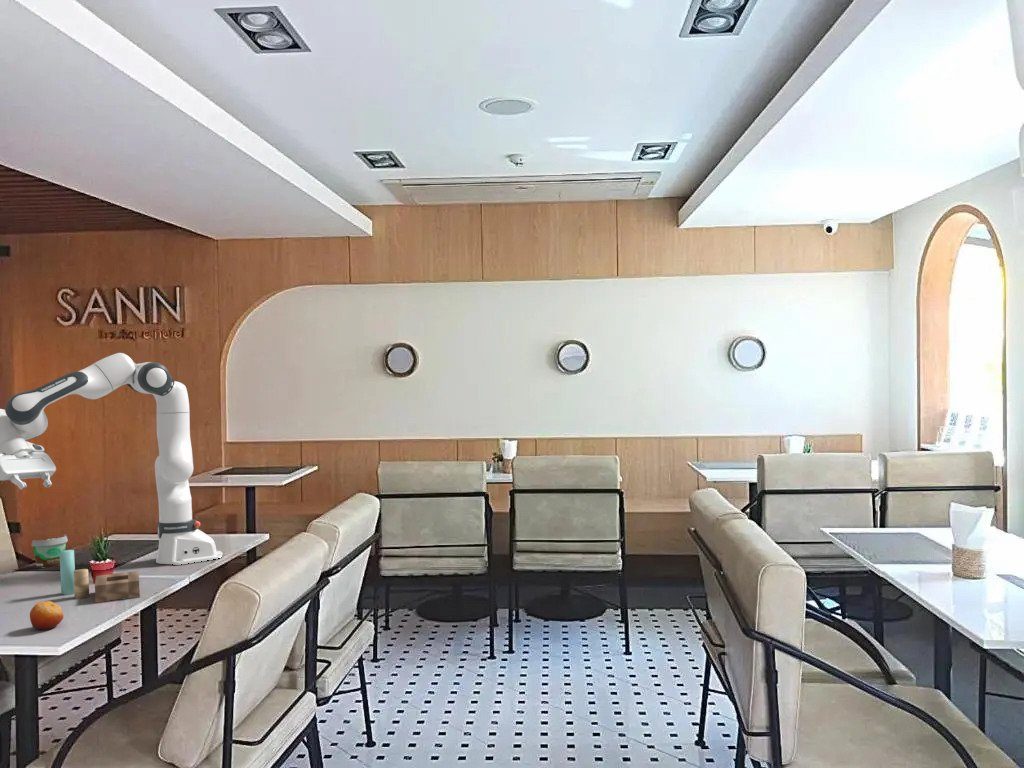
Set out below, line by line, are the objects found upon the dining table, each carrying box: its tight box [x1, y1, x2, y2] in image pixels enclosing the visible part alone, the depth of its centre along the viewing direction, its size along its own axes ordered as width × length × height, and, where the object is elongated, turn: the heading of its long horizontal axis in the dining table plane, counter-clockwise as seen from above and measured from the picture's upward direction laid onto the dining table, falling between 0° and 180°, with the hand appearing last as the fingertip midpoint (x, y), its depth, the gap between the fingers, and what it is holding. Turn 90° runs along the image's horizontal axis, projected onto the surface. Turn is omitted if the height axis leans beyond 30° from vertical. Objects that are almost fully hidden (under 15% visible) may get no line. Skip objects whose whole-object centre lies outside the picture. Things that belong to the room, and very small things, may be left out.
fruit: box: [29, 600, 64, 630], centre depth 234 cm, size 8×8×8 cm
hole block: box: [94, 570, 141, 604], centre depth 267 cm, size 12×14×5 cm
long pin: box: [59, 549, 76, 596], centre depth 271 cm, size 4×4×13 cm
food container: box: [31, 533, 69, 568], centre depth 311 cm, size 12×6×10 cm, turn 148°
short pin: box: [74, 568, 90, 599], centre depth 266 cm, size 4×4×8 cm
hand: (36, 487), depth 277 cm, fingers open, 8 cm apart
